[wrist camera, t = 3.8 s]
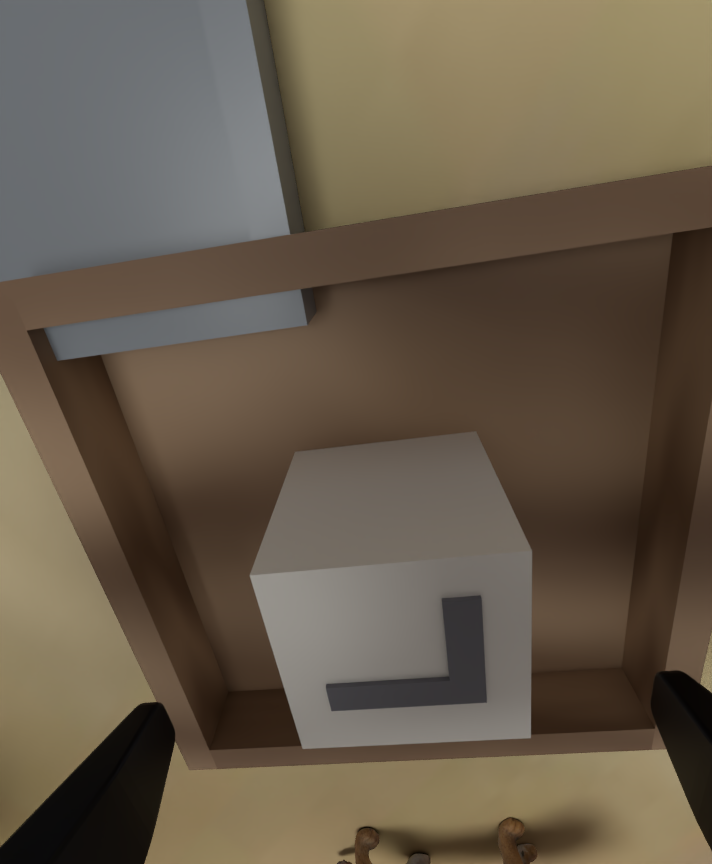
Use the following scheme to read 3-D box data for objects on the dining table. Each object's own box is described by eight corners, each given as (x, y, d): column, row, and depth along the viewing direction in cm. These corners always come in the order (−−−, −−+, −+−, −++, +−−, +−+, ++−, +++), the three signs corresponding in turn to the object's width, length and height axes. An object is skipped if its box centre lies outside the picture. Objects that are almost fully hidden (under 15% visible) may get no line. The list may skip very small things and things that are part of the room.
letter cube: (482, 575, 14) (531, 742, 10) (326, 589, 15) (302, 753, 10) (476, 431, 12) (534, 554, 8) (294, 451, 13) (248, 579, 8)
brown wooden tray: (643, 675, 16) (685, 748, 14) (213, 701, 18) (189, 770, 16) (717, 165, 10) (817, 148, 8) (42, 275, 12) (-40, 288, 9)
